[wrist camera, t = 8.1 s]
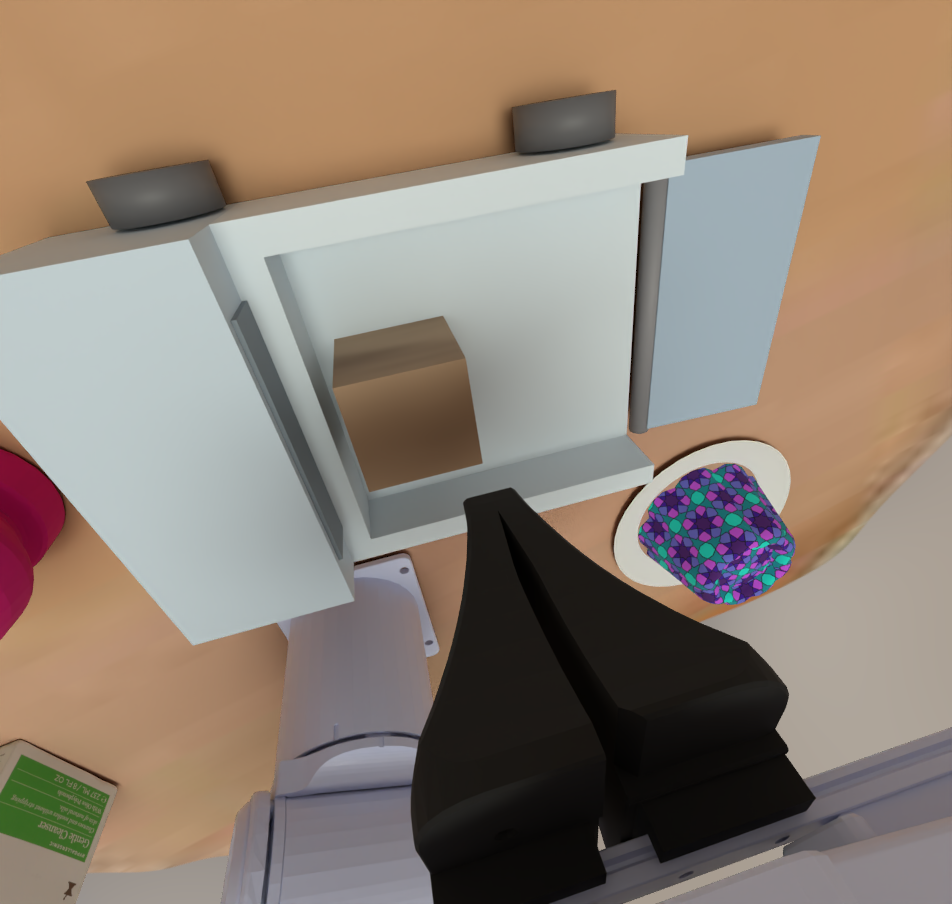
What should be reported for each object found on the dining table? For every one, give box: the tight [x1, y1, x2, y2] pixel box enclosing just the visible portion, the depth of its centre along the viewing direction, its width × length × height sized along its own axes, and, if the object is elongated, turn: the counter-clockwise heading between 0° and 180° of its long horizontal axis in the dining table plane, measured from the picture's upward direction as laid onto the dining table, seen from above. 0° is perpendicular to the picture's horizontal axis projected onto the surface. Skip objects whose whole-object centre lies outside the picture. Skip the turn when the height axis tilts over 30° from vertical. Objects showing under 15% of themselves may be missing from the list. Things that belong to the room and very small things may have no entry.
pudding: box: [614, 440, 795, 605], centre depth 29 cm, size 12×12×5 cm
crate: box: [332, 316, 483, 492], centre depth 17 cm, size 4×4×4 cm
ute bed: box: [0, 90, 688, 645], centre depth 17 cm, size 16×19×6 cm
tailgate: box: [629, 135, 821, 434], centre depth 20 cm, size 11×6×1 cm, turn 8°
